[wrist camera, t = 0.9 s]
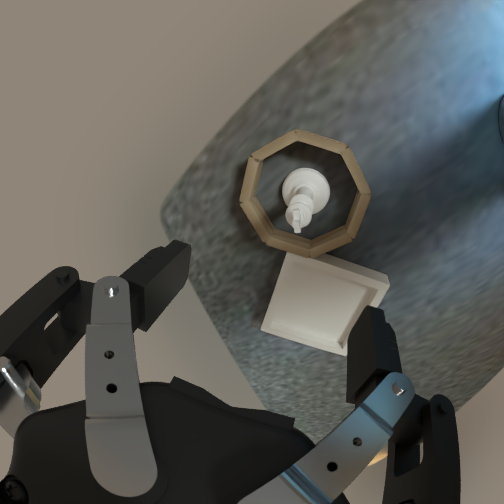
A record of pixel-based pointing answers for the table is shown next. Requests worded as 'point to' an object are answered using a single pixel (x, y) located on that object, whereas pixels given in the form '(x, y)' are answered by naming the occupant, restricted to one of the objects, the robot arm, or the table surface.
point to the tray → (321, 300)
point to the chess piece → (304, 196)
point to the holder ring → (289, 240)
